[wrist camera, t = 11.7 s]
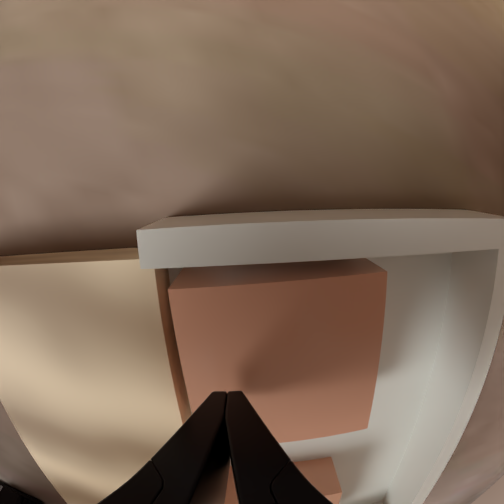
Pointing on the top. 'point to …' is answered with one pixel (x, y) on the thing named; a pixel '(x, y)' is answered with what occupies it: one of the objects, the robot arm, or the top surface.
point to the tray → (394, 330)
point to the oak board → (89, 366)
